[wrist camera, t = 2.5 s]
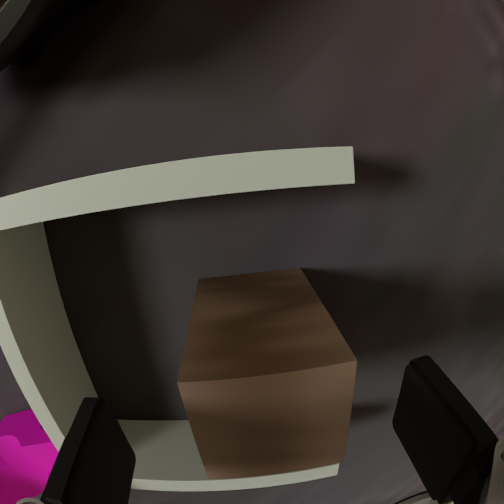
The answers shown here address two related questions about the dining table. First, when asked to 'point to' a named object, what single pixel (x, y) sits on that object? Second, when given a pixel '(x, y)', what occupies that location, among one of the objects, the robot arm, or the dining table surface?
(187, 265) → the dining table surface
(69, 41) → the dining table surface
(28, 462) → the toy block
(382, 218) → the dining table surface
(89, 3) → the piggy bank
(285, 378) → the block
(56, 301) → the u-shaped bracket
